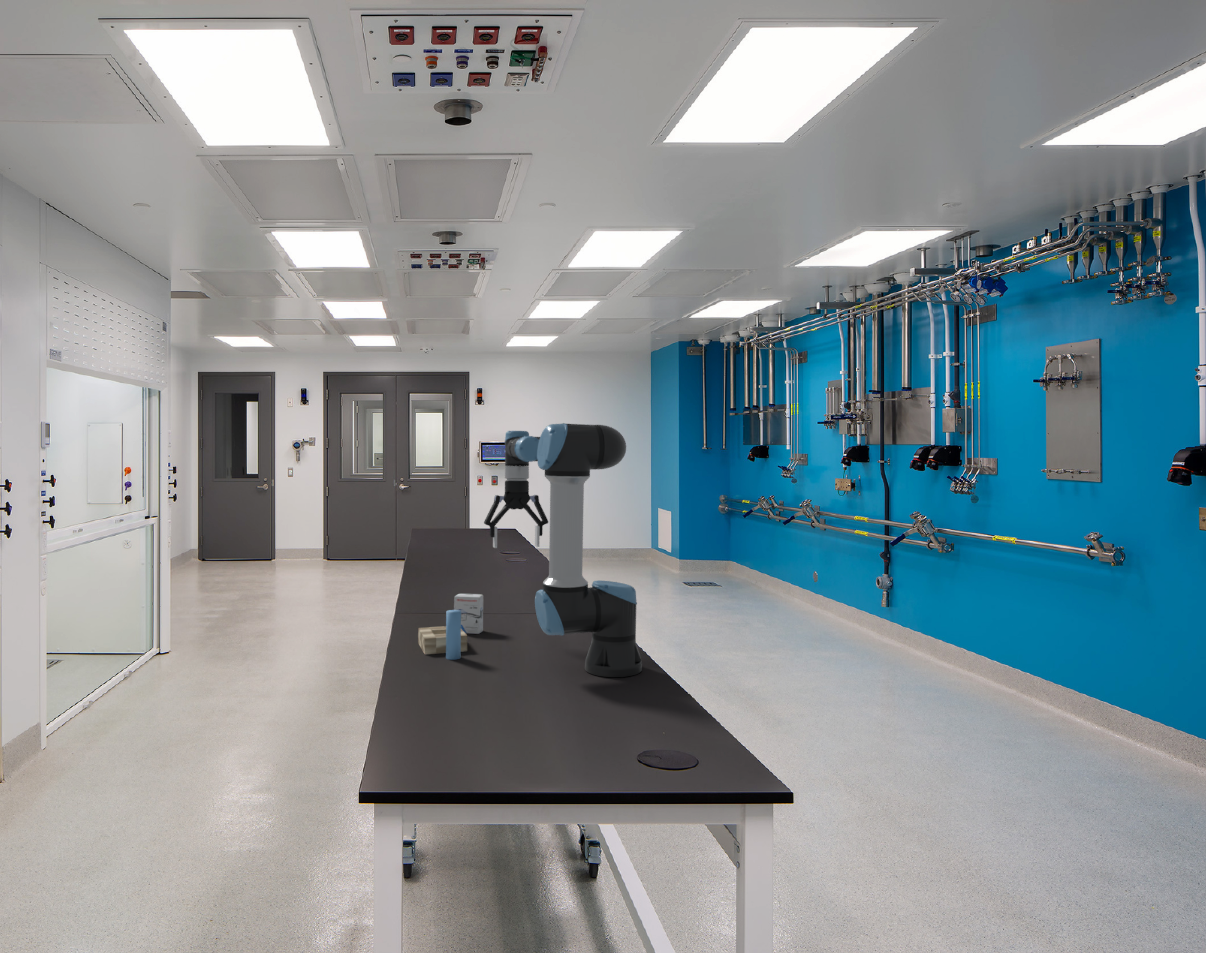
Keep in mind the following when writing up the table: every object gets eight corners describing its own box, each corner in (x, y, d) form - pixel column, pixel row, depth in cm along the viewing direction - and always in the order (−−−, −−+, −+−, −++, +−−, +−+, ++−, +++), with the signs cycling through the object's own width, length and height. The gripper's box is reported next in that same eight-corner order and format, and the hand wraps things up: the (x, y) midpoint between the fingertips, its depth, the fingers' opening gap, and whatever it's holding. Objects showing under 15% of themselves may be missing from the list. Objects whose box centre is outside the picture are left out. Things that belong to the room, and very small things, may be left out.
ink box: (452, 633, 245) (453, 596, 244) (457, 629, 250) (457, 593, 249) (479, 634, 244) (479, 597, 243) (483, 630, 249) (483, 594, 248)
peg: (461, 659, 214) (462, 612, 214) (447, 660, 213) (447, 613, 212) (459, 655, 218) (459, 609, 217) (444, 656, 216) (445, 610, 216)
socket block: (467, 651, 222) (467, 635, 222) (424, 654, 218) (424, 638, 218) (458, 640, 236) (458, 625, 235) (418, 643, 231) (418, 628, 231)
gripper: (551, 479, 252) (550, 544, 252) (475, 479, 243) (474, 546, 244) (558, 480, 245) (557, 547, 245) (479, 480, 236) (479, 549, 236)
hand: (516, 547), depth 244 cm, fingers open, 13 cm apart
